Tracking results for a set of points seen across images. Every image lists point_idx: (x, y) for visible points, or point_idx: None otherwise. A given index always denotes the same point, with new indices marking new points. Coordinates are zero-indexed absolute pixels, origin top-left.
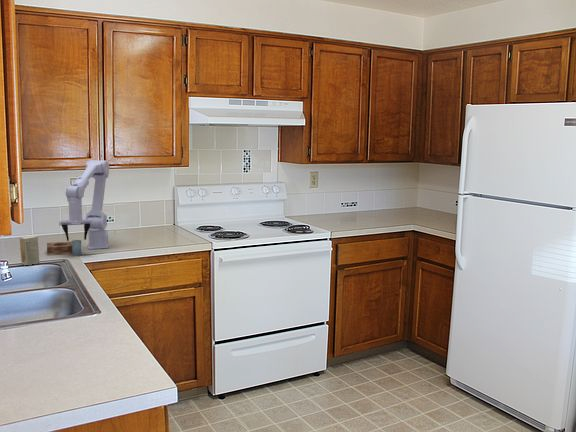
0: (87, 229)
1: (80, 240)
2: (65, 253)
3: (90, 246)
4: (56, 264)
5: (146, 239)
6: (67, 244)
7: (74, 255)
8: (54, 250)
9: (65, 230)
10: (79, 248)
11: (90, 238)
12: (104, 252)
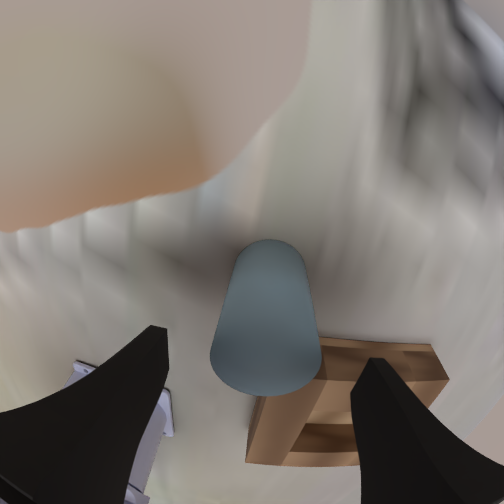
0: (39, 412)
1: (218, 353)
2: (336, 341)
3: (157, 408)
4: (466, 35)
5: (6, 392)
6: (302, 423)
7: (298, 254)
8: (406, 363)
9: (465, 459)
10: (250, 272)
11: (141, 445)
12: (80, 271)
